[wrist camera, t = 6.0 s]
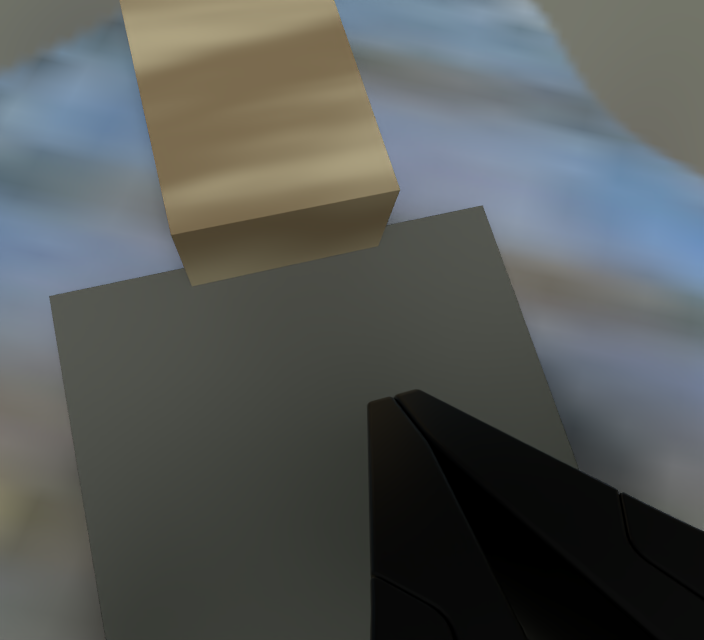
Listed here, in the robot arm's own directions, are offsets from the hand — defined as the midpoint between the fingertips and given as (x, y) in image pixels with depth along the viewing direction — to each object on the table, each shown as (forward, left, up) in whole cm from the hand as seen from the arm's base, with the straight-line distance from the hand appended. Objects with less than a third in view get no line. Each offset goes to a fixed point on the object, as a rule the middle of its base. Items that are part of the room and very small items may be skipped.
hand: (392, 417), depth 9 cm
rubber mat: (0, 0, -8) cm, 8 cm away
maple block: (+4, +4, -6) cm, 9 cm away
